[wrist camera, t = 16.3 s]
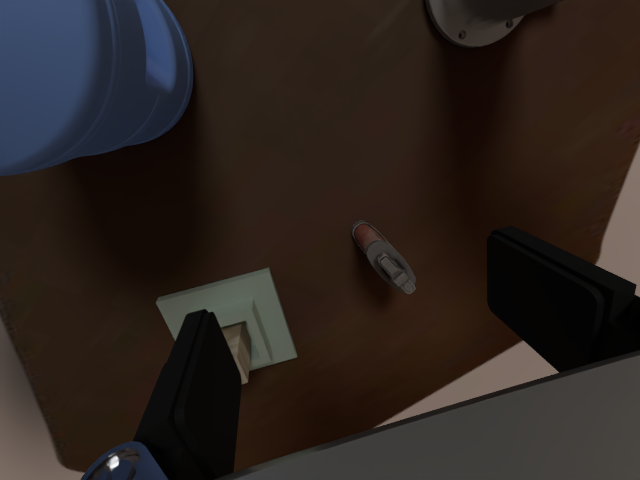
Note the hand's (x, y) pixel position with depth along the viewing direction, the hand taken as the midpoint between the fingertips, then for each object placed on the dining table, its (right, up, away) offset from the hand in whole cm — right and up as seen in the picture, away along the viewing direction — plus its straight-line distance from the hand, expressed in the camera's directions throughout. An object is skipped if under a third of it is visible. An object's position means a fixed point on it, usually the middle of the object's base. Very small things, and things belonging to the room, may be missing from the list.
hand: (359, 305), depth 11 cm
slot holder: (-14, -10, +35) cm, 39 cm away
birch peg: (-13, -11, +34) cm, 38 cm away
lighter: (+6, +2, +34) cm, 34 cm away
